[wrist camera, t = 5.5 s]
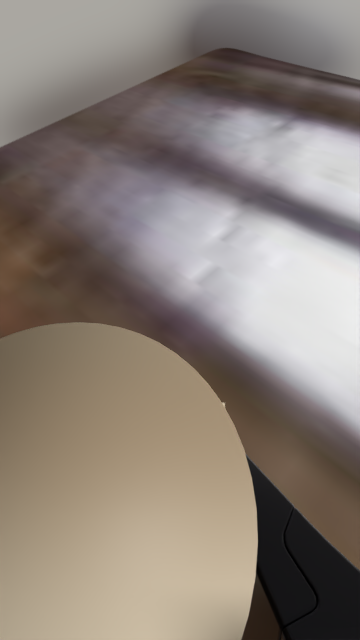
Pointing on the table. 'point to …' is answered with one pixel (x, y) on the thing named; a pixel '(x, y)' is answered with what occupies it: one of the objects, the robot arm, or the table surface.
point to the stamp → (118, 493)
